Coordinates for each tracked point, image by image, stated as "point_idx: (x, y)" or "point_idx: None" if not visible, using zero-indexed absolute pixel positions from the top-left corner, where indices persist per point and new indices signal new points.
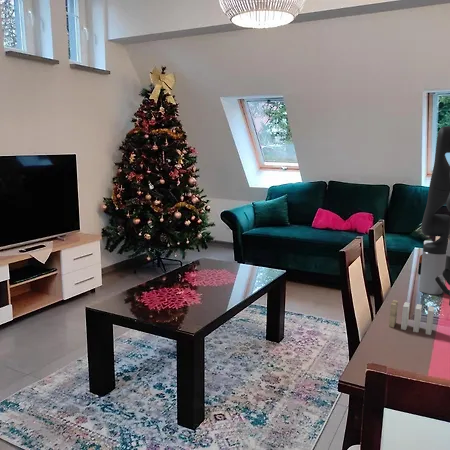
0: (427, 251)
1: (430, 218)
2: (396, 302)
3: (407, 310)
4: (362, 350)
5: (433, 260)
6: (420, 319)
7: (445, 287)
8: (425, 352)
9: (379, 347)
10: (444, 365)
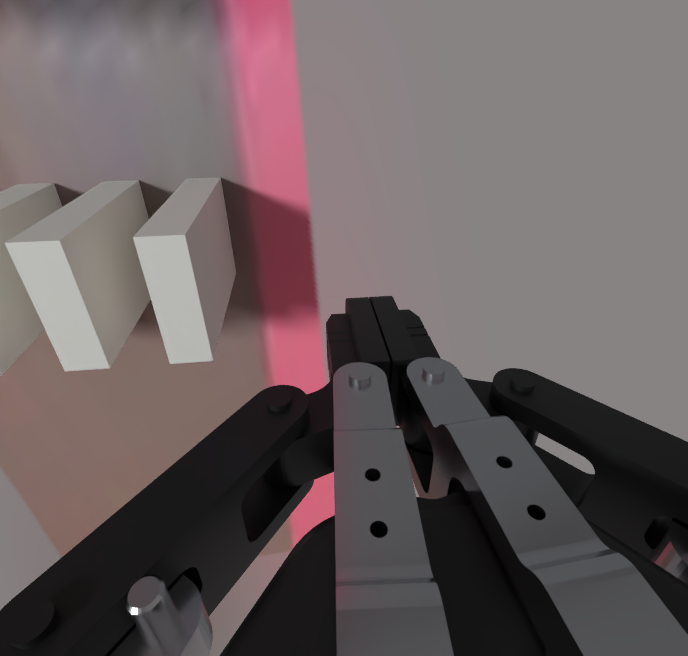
0: None
1: None
2: None
3: (15, 358)
4: (65, 547)
5: None
6: (118, 198)
7: (262, 460)
8: None
9: (98, 505)
10: (333, 503)
